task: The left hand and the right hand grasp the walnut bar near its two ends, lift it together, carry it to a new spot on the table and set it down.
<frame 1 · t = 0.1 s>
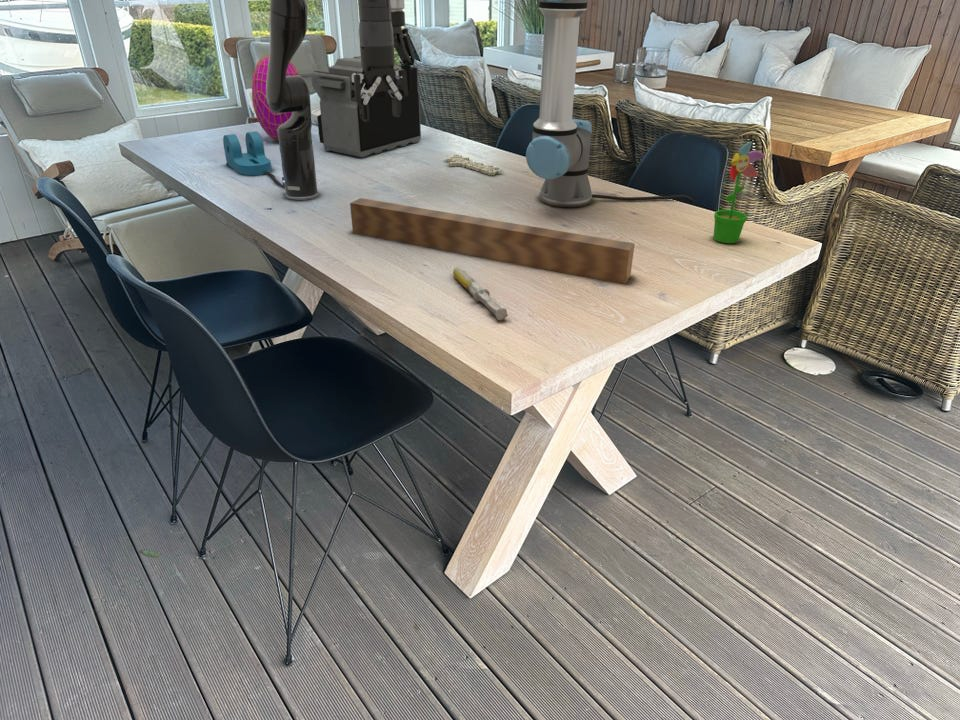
left hand: (381, 118, 160), 29 cm above the table, tool pointing down, fingers open, 8 cm apart
right hand: (394, 93, 197), 28 cm above the table, tool pointing down, fingers open, 13 cm apart
ashtray: (339, 121, 295), on the table
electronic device: (371, 146, 258), on the table
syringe: (478, 297, 145), on the table
camera mount: (251, 168, 229), on the table
decorative sign: (470, 167, 234), on the table
decorative egg: (284, 140, 265), on the table
bar: (482, 253, 166), on the table
potted flower: (726, 239, 176), on the table
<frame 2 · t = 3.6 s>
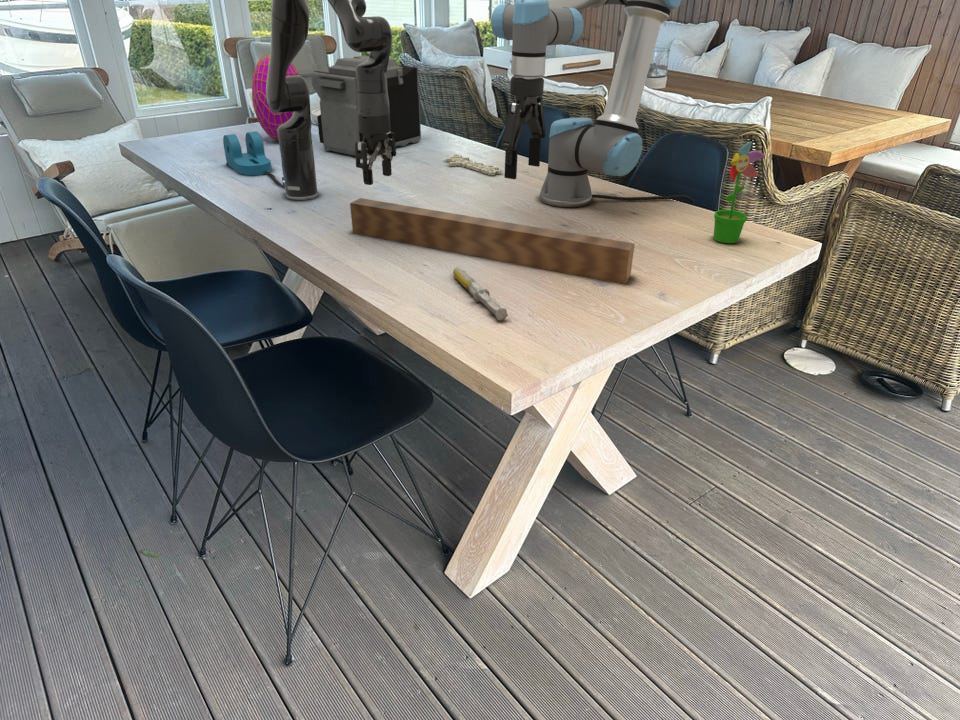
left hand: (378, 179, 169), 14 cm above the table, tool pointing down, fingers open, 8 cm apart
right hand: (522, 171, 164), 18 cm above the table, tool pointing down, fingers open, 13 cm apart
nothing on the table moved.
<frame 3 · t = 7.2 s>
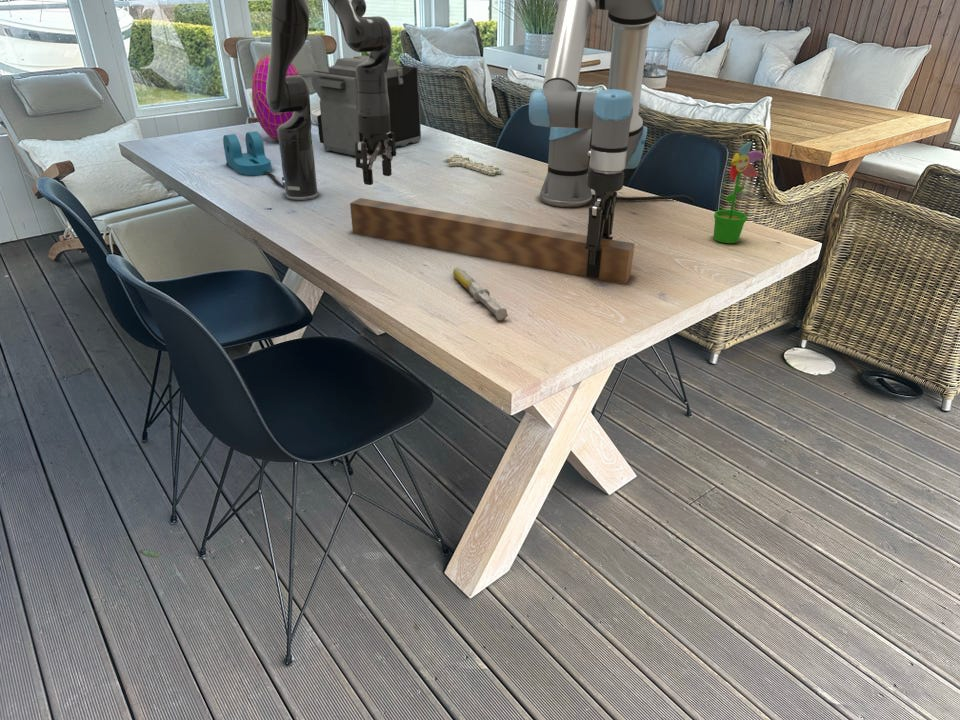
left hand: (378, 179, 169), 14 cm above the table, tool pointing down, fingers open, 8 cm apart
right hand: (595, 272, 156), 1 cm above the table, tool pointing down, fingers closed on bar, 5 cm apart
bar: (482, 253, 166), on the table, touching right hand
everything else where it was.
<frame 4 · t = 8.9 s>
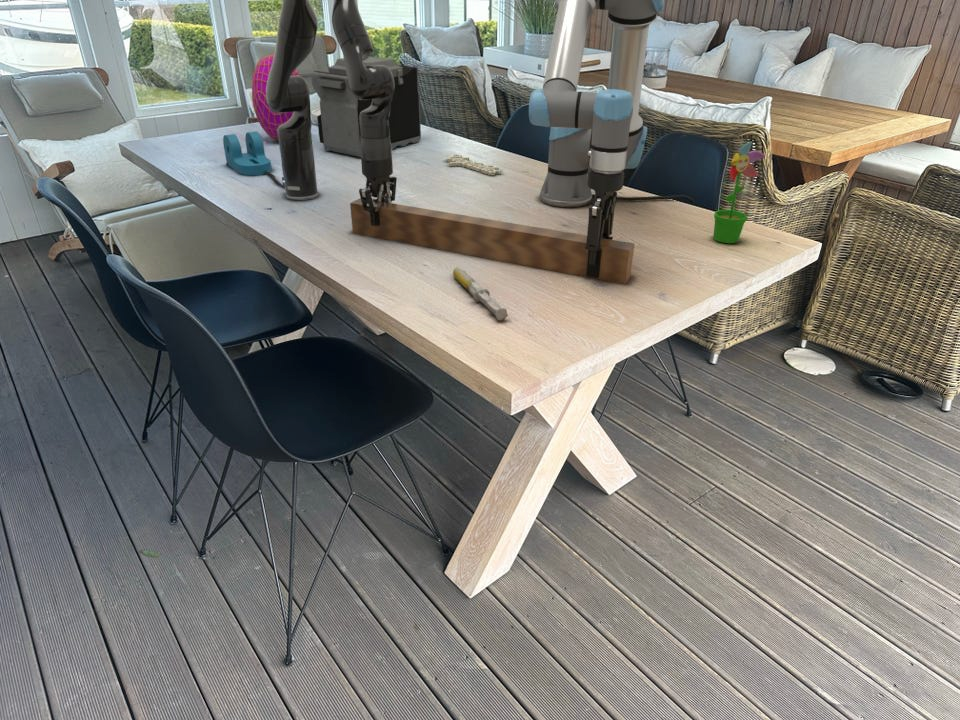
left hand: (380, 222, 175), 3 cm above the table, tool pointing down, fingers closed on bar, 4 cm apart
right hand: (595, 272, 156), 1 cm above the table, tool pointing down, fingers closed on bar, 5 cm apart
bar: (482, 253, 166), on the table, touching right hand, left hand
everything else where it was.
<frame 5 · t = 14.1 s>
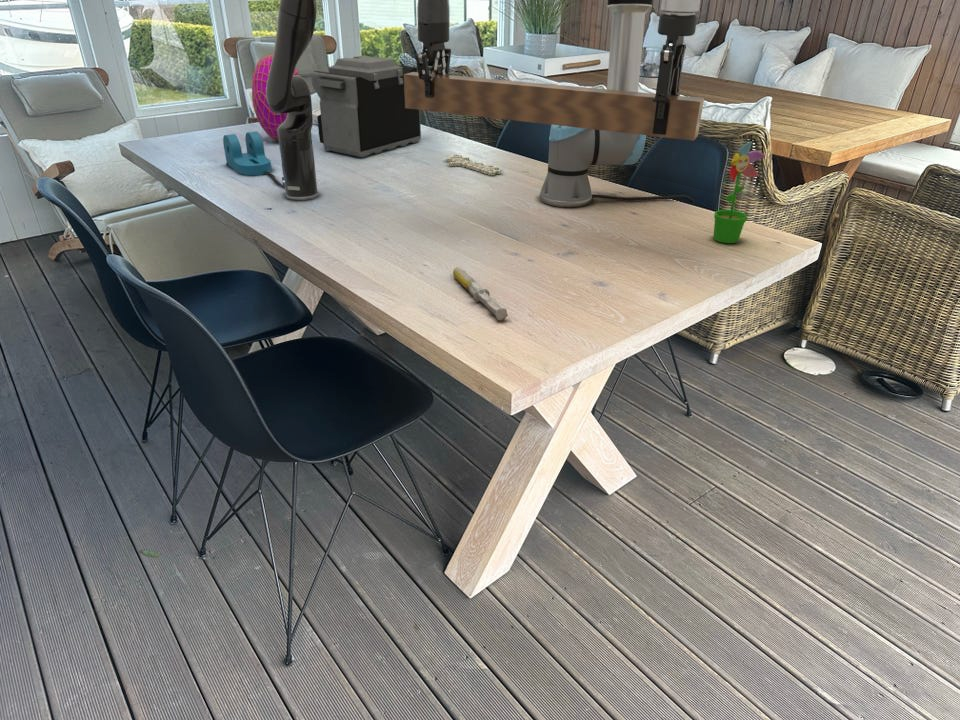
left hand: (434, 95, 171), 32 cm above the table, tool pointing down, fingers closed on bar, 4 cm apart
right hand: (661, 131, 152), 29 cm above the table, tool pointing down, fingers closed on bar, 5 cm apart
bar: (541, 121, 162), point 29 cm above the table, touching right hand, left hand
everything else where it was.
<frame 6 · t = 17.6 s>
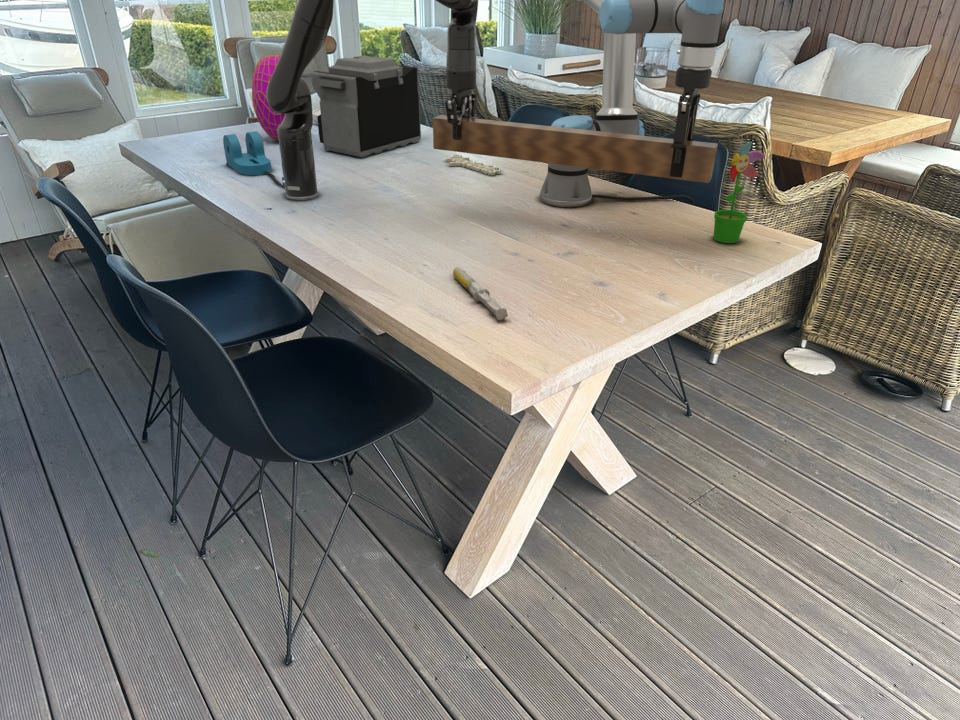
left hand: (461, 137, 181), 21 cm above the table, tool pointing down, fingers closed on bar, 4 cm apart
right hand: (677, 173, 162), 18 cm above the table, tool pointing down, fingers closed on bar, 5 cm apart
bar: (563, 162, 173), point 18 cm above the table, touching right hand, left hand
everything else where it was.
when the right hand's fingers open (2 cm above the table, at t = 20.8 s): bar drops 1 cm, on the table.
when the left hand's fingers open (4 cm above the table, at t = 21.0 s): bar stays where it is, on the table.
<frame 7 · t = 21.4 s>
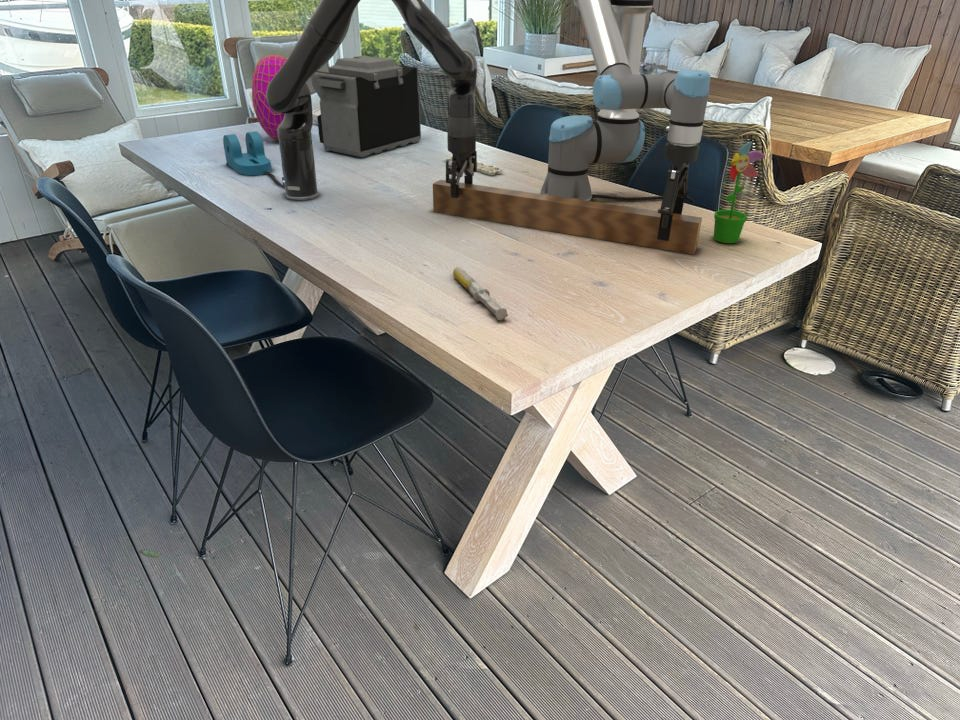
left hand: (461, 193, 189), 6 cm above the table, tool pointing down, fingers open, 8 cm apart
right hand: (668, 231, 169), 4 cm above the table, tool pointing down, fingers open, 13 cm apart
bar: (556, 228, 182), on the table
everything else where it was.
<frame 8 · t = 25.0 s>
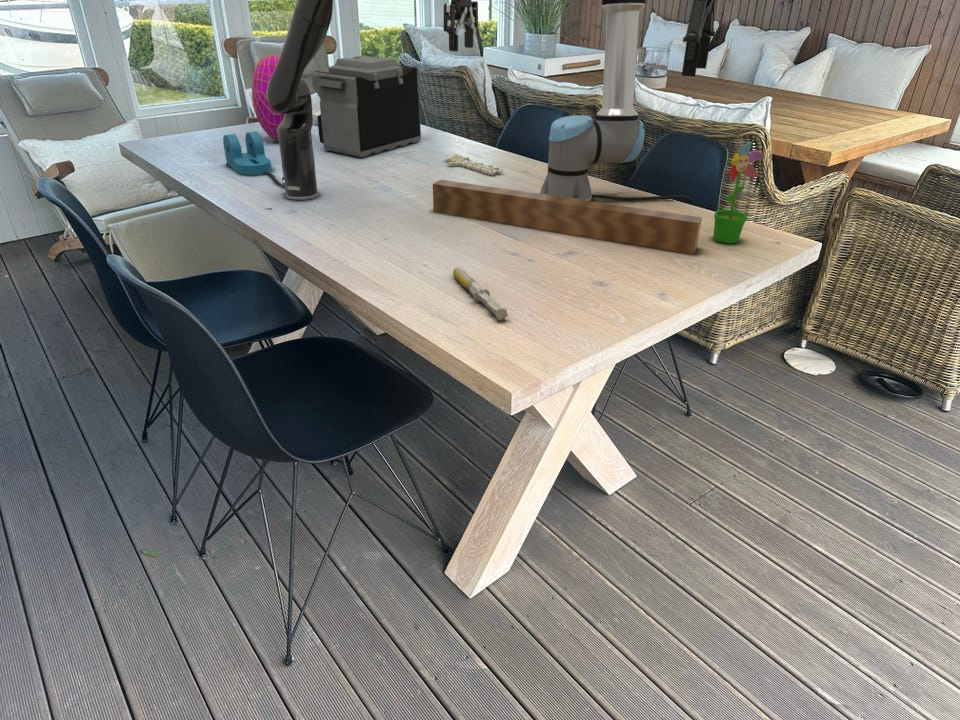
left hand: (461, 49, 171), 42 cm above the table, tool pointing down, fingers open, 8 cm apart
right hand: (694, 72, 151), 41 cm above the table, tool pointing down, fingers open, 13 cm apart
nothing on the table moved.
at the end: bar inside the target area (0.4 cm from its centre), on the table; bar tilted 0°; bar never tilted more than 2° during the clip; both hands held the bar at the same time; the left hand is holding nothing; the right hand is holding nothing; bar at rest at the end (0.0 cm/s) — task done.
